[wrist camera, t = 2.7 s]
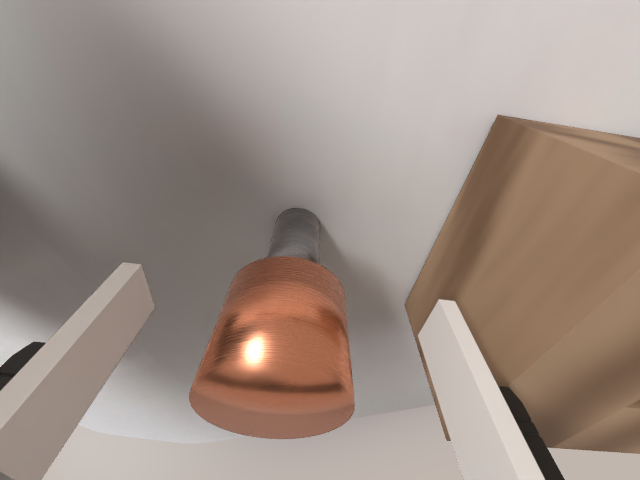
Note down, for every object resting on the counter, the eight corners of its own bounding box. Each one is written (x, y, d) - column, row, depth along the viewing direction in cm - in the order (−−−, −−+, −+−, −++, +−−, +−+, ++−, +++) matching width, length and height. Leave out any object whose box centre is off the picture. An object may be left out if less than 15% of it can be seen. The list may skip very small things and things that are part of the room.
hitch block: (404, 305, 21) (446, 440, 14) (497, 114, 13) (713, 203, 6) (590, 324, 23) (717, 459, 15) (781, 161, 14) (1252, 283, 7)
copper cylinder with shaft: (256, 254, 18) (199, 433, 10) (256, 184, 15) (175, 356, 7) (331, 263, 19) (338, 443, 10) (346, 196, 16) (373, 373, 7)
